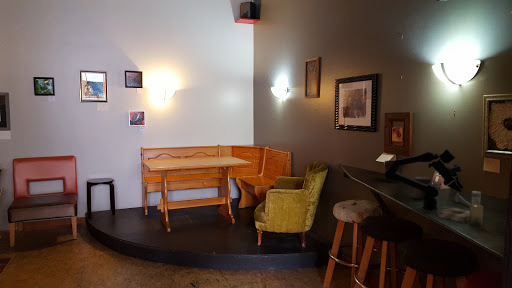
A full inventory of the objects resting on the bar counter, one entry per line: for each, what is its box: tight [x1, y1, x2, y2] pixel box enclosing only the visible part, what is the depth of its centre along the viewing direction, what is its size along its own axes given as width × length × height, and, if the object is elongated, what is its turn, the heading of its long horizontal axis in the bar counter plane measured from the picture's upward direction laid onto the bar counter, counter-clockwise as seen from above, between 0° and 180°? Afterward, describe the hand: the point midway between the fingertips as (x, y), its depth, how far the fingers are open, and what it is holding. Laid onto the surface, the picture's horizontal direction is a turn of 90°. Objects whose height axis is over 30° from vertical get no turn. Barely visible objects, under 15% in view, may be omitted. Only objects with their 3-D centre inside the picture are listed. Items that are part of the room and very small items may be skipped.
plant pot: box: [384, 160, 405, 184], centre depth 311 cm, size 15×15×16 cm
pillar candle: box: [413, 176, 432, 201], centre depth 258 cm, size 10×10×15 cm
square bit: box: [470, 190, 482, 205], centre depth 221 cm, size 4×4×13 cm
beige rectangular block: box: [468, 203, 484, 227], centre depth 203 cm, size 6×6×10 cm
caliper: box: [454, 192, 471, 208], centre depth 240 cm, size 20×1×6 cm, turn 6°
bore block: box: [437, 207, 470, 224], centre depth 216 cm, size 14×14×3 cm
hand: (461, 190), depth 224 cm, fingers open, 9 cm apart
